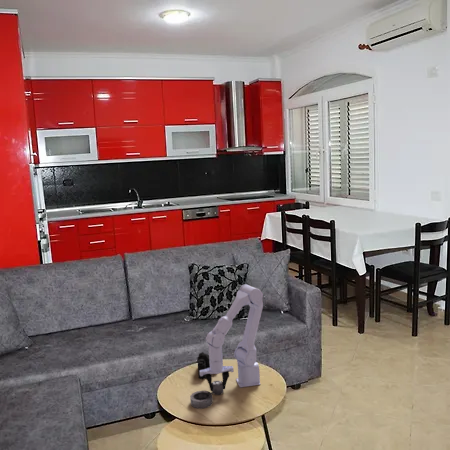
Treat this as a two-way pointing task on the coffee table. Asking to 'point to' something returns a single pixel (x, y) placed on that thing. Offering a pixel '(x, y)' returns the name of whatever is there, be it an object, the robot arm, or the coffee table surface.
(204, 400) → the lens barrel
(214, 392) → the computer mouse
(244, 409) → the coffee table surface
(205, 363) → the film camera
